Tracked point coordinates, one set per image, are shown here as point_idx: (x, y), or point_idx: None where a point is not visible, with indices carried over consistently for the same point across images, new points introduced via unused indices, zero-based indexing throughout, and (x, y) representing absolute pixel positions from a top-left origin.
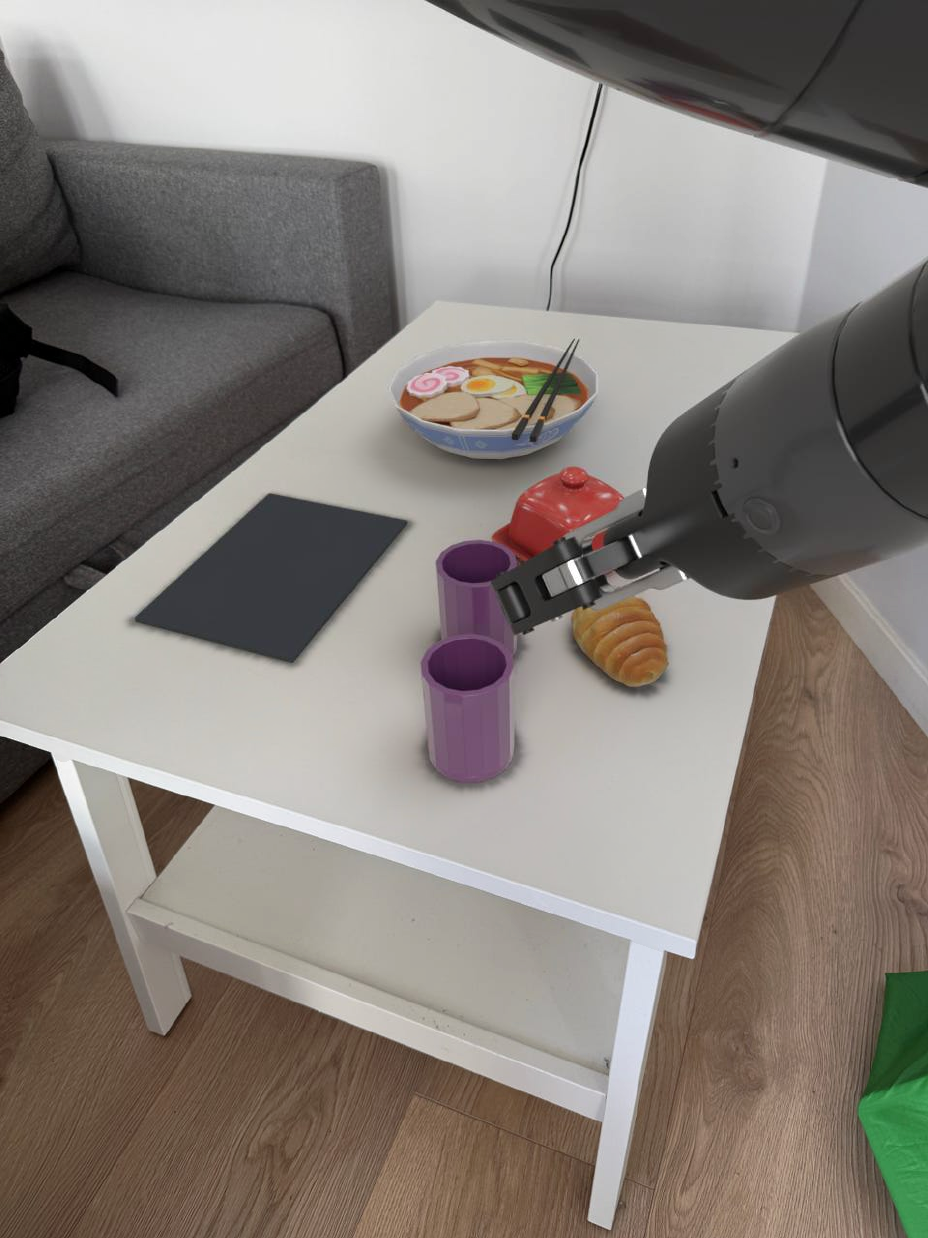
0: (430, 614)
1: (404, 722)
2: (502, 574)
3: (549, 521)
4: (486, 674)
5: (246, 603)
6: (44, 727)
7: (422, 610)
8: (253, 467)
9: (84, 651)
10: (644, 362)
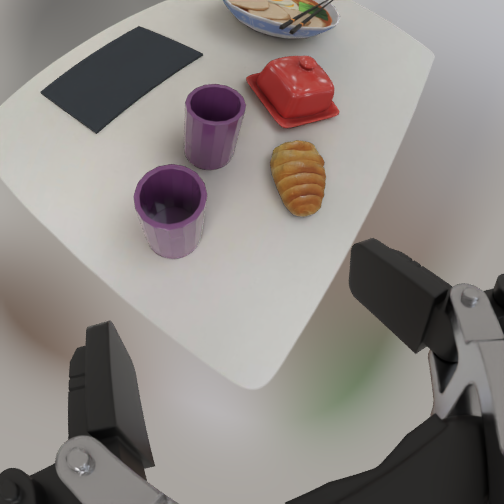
0: None
1: None
2: (6, 501)
3: (282, 83)
4: (191, 193)
5: (91, 89)
6: None
7: None
8: (140, 12)
9: (14, 110)
10: (361, 22)
